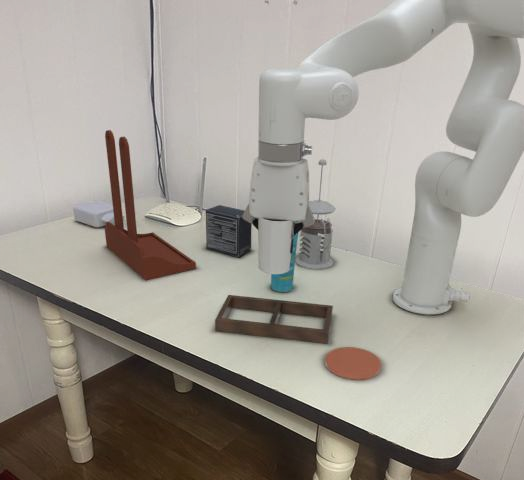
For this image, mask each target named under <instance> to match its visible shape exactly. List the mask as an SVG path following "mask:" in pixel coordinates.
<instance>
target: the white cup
mask: <svg viewBox="0 0 524 480" xmlns="http://www.w3.org/2000/svg"><path fill="white" fill-rule="evenodd" d="M294 225H295V221H294ZM291 228H292V221H290V220H288V221H280V220H265V219H263V218H258V230H257V231H258V232H257V234H258V235H257V242H258V244H257V245H258V246H257V247H258V248H257V249H258V253H257V254H258V269H259V271H261V272H262V273H265V274H268V275H271V274H283V273H286V272H288V271H289V267H290V259H291V253H290V248H291V240H292V238H291Z"/></svg>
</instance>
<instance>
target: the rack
mask: <svg viewBox="0 0 524 480" xmlns="http://www.w3.org/2000/svg"><path fill="white" fill-rule="evenodd" d="M225 298H226V299H225V300H224V302H223V304H222V306H221V308H220V310H219V312H218V314H217V315H216V318H215V319H214V331H215V332H222V333H230V334H240V335H248V336H256V337H265V338H274V339H283V340H290V341H291V340H292V341H301V342H308V343H319V344H328V343H329V338H330V330H331V325H332V317H333V308H334V305H332V304H331V305H329V304H320V303H311V302H301V301H293V300H282V299H273V298H263V297H254V296H246V295H245V296H244V295H236V294H235V295H234V294H227V296H226V297H225ZM232 309H239V310H240V309H242V310H251V311H258V312H259V311H260V312H269V313H272V315H271V318H270V319H269V320H270V321H269V322H261V321H251V320H250V321H249V320H243V319H234V318H228V317H229V314H230V312H231V311H232ZM281 314H288V315H296V316H307V317H315V318H325V321H324V325H323V326H324V327H323V328H313V327H308V326H307V327H306V326H297V325H287V324H279V320H280V317H281Z"/></svg>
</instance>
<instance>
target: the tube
mask: <svg viewBox="0 0 524 480" xmlns="http://www.w3.org/2000/svg"><path fill="white" fill-rule="evenodd" d="M297 222H298V221H297ZM297 222H296V223H297ZM298 238H299V232H298V233H297V234H296V235H294V238H293V252H292V253H291V259H290V267H289V271H288V272H286V273H283V274H270V288H271V289H272V290H273V291H275V292H279V293H280V292H281V293H286V292H290V291H292V289H293V285H294V275H295V267H296V262H295V259H296V257H297V256H296V255H297V247H298Z"/></svg>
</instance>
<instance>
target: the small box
mask: <svg viewBox="0 0 524 480" xmlns="http://www.w3.org/2000/svg"><path fill="white" fill-rule="evenodd" d="M244 211H245V210H244V209H241V208H240V209H239V208H234V207H231V206H226V205H222V204H219V205H215V206H213V207H210V208H207V209H205V236H206V237H205V239H206V240H205V241H206V245H205V246H206V247H205V248H206V250H208V251H209V250H210V251H213V252H217V253H220V254H221V253H222V254H223V255H229V256H232V257H235V258H239V257H242V256H244V255H246V254H248V253H250V252H251V251H252V226H253V224H252V223H249V222H248V221H246V220H244V219H243V218H242V215H243V213H244Z"/></svg>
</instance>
